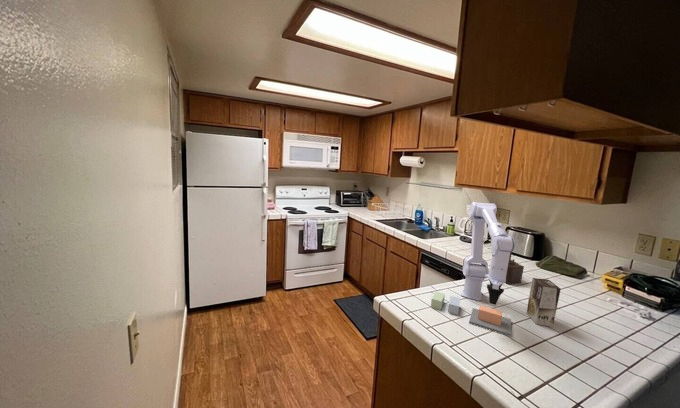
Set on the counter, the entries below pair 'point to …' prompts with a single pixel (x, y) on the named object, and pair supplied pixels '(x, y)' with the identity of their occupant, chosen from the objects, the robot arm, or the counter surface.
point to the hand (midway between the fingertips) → (493, 299)
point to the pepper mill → (514, 272)
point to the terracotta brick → (490, 315)
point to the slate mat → (502, 329)
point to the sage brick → (437, 300)
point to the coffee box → (543, 301)
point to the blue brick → (454, 305)
